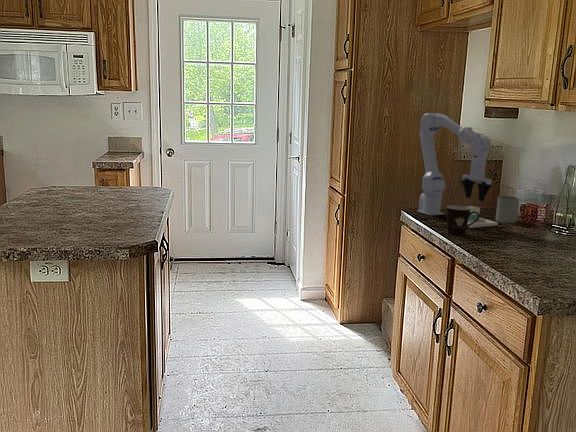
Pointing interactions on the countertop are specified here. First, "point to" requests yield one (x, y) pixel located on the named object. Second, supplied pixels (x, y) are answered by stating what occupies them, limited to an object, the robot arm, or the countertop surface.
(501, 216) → the cup
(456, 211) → the coffee mug
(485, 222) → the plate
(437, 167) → the robot arm
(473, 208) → the block
